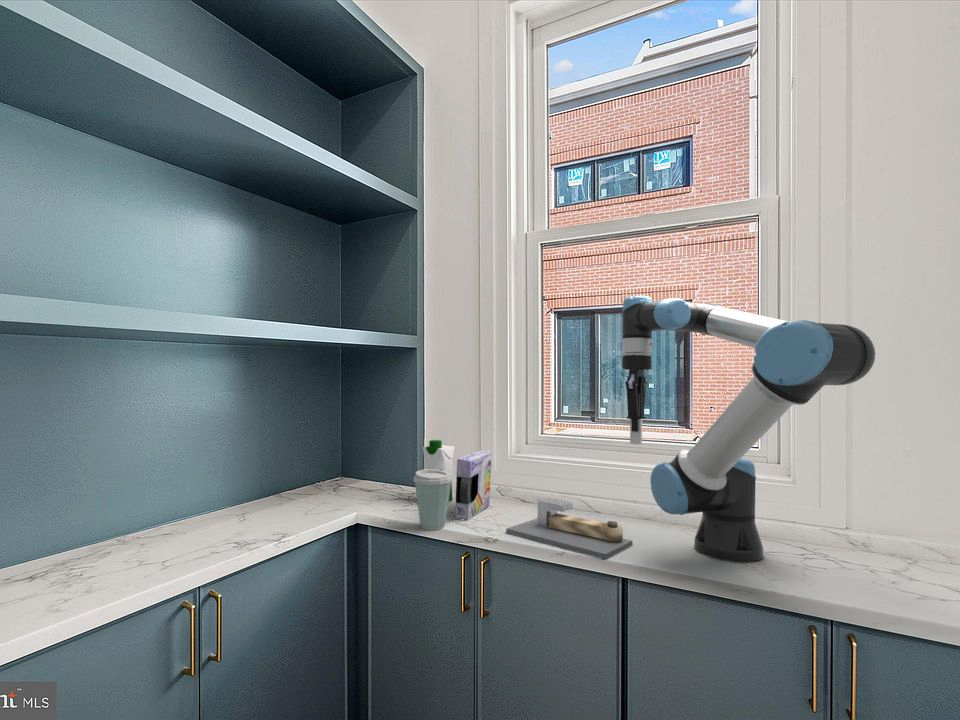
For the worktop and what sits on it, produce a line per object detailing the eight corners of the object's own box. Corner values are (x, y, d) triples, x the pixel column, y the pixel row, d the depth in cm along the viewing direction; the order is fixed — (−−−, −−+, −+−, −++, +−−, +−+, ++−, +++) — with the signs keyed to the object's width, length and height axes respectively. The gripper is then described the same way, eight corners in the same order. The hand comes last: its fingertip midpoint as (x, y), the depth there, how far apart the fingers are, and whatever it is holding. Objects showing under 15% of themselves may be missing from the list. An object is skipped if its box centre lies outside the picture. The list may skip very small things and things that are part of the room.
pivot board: (632, 545, 133) (632, 540, 133) (605, 559, 123) (605, 554, 123) (536, 522, 152) (536, 518, 152) (506, 533, 142) (506, 528, 142)
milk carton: (418, 502, 174) (420, 440, 175) (435, 496, 182) (436, 437, 182) (440, 505, 170) (442, 442, 170) (456, 500, 177) (458, 440, 178)
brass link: (625, 538, 134) (625, 522, 134) (617, 543, 130) (617, 526, 130) (557, 523, 146) (557, 509, 146) (547, 527, 142) (548, 512, 142)
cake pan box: (468, 522, 152) (469, 459, 152) (452, 520, 154) (453, 458, 154) (491, 507, 170) (492, 451, 170) (476, 505, 171) (477, 450, 172)
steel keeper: (572, 531, 144) (572, 502, 144) (562, 535, 140) (562, 505, 140) (547, 525, 149) (547, 497, 149) (537, 529, 145) (537, 500, 146)
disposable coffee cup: (459, 525, 148) (460, 471, 148) (434, 535, 139) (436, 477, 139) (429, 519, 153) (430, 467, 154) (403, 528, 144) (405, 472, 145)
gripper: (645, 353, 135) (644, 447, 134) (656, 355, 146) (656, 442, 145) (615, 353, 139) (614, 445, 138) (629, 355, 150) (628, 440, 149)
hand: (635, 443), depth 142 cm, fingers closed
